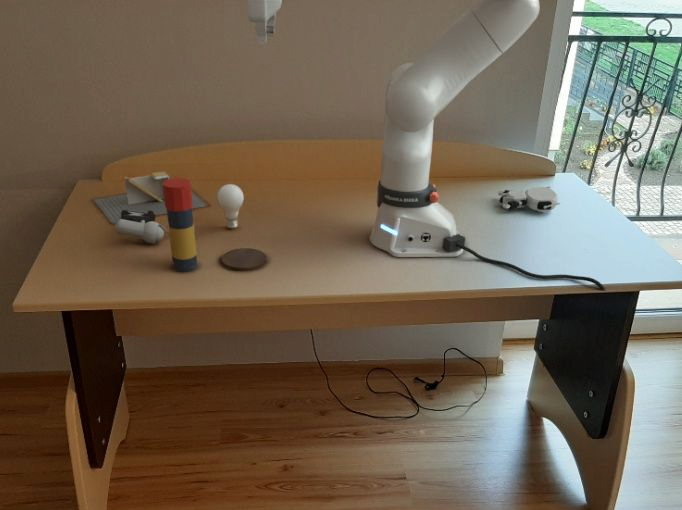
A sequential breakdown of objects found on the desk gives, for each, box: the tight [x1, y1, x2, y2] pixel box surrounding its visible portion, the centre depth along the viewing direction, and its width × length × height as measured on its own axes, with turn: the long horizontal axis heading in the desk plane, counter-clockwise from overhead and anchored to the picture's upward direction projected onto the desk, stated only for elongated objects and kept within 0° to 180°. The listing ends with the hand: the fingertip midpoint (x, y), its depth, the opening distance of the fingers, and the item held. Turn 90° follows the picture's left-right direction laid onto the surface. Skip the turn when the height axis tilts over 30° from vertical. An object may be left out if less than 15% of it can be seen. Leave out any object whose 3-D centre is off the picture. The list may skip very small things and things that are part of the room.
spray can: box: [166, 207, 198, 273], centre depth 147 cm, size 5×5×16 cm
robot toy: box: [497, 185, 561, 213], centre depth 184 cm, size 12×4×15 cm
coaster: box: [221, 247, 268, 272], centre depth 154 cm, size 10×10×1 cm
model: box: [124, 170, 171, 205], centre depth 179 cm, size 3×11×8 cm, turn 121°
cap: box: [163, 177, 193, 211], centre depth 142 cm, size 6×6×5 cm
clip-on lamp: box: [115, 210, 169, 245], centre depth 162 cm, size 12×6×18 cm
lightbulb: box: [216, 183, 245, 230], centre depth 166 cm, size 6×6×11 cm
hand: (266, 39), depth 142 cm, fingers open, 8 cm apart
